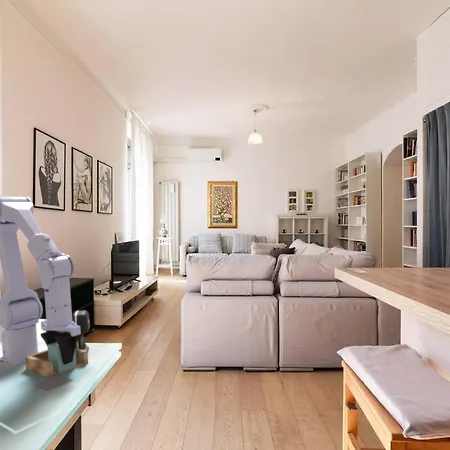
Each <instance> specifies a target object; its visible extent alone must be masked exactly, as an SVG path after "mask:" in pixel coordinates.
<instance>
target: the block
mask: <svg viewBox="0 0 450 450" xmlns="http://www.w3.org/2000/svg"><path fill="white" fill-rule="evenodd" d="M47 346H48V347H47ZM46 347H47V350H48V360H49V362H50V363H53V371H55V372H58V373H60V372H62V371H65V370H68V369H70V368H73V367H76V352H74V357H73V362H71V363H68V364H63V361H62V357H61V351H60V348H59V345H58V343H57V342H55V343H51V344H48V345H46Z"/></svg>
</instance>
